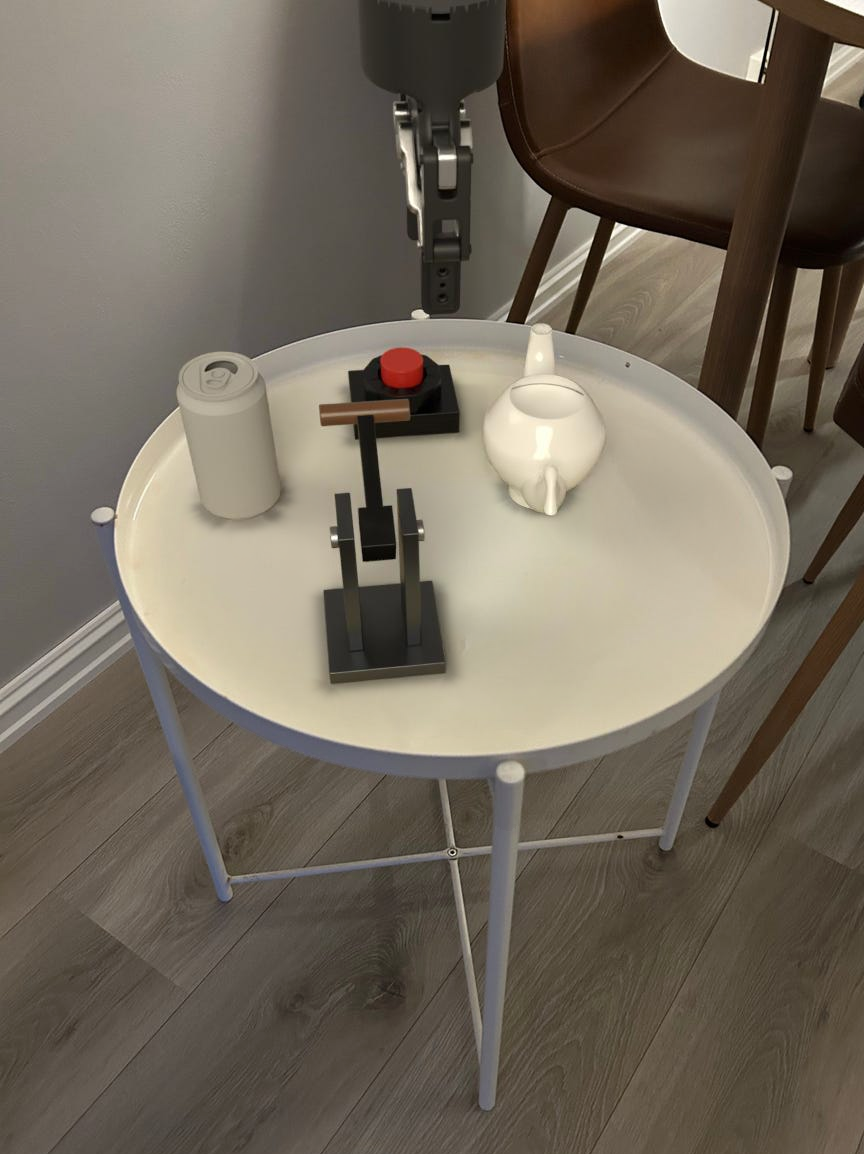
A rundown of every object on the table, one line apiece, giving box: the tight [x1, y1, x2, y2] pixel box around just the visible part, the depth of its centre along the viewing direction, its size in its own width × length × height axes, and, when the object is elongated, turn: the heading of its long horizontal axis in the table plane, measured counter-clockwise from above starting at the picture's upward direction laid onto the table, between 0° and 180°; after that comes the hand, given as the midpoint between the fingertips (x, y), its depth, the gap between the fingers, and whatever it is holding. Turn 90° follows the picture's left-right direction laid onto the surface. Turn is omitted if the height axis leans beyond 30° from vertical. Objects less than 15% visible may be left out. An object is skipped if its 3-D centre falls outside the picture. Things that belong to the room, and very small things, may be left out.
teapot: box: [481, 323, 607, 516], centre depth 84 cm, size 10×20×9 cm, turn 0°
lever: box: [318, 399, 410, 563], centre depth 70 cm, size 11×6×2 cm, turn 8°
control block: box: [347, 353, 461, 441], centre depth 93 cm, size 9×7×4 cm
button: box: [380, 347, 423, 388], centre depth 91 cm, size 4×4×2 cm
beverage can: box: [176, 351, 282, 521], centre depth 81 cm, size 6×6×12 cm
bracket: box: [322, 487, 447, 685], centre depth 72 cm, size 8×8×12 cm
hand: (432, 272), depth 65 cm, fingers open, 8 cm apart
